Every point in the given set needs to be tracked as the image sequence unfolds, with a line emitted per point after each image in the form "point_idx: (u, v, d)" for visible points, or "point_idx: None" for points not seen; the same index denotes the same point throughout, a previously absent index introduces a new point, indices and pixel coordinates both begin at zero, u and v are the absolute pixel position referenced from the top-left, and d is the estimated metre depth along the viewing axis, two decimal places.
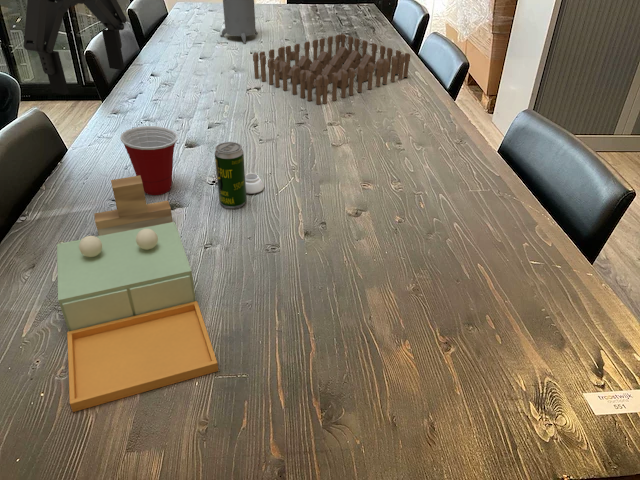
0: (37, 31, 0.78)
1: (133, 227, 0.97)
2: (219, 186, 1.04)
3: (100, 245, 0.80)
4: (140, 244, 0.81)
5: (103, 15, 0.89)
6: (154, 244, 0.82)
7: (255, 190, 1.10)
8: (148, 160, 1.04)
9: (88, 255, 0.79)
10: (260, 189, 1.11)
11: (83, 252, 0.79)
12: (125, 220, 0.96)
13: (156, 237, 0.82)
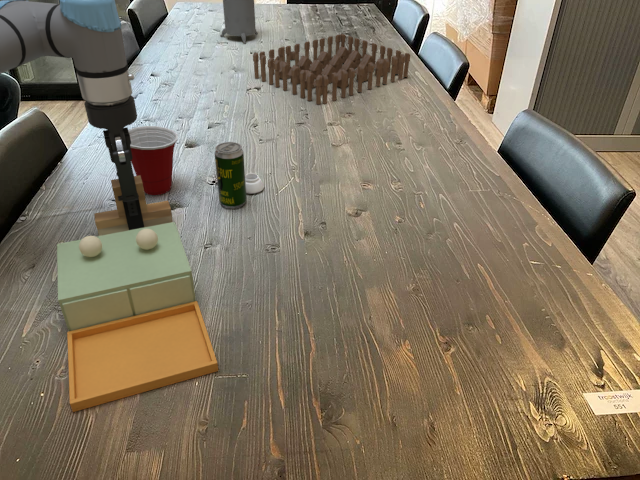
0: (135, 187, 0.89)
1: None
2: (219, 186, 1.04)
3: (100, 245, 0.80)
4: (140, 244, 0.81)
5: None
6: (154, 244, 0.82)
7: (255, 190, 1.10)
8: (148, 160, 1.04)
9: (88, 255, 0.79)
10: (260, 189, 1.11)
11: (83, 252, 0.79)
12: (125, 220, 0.96)
13: (156, 237, 0.82)
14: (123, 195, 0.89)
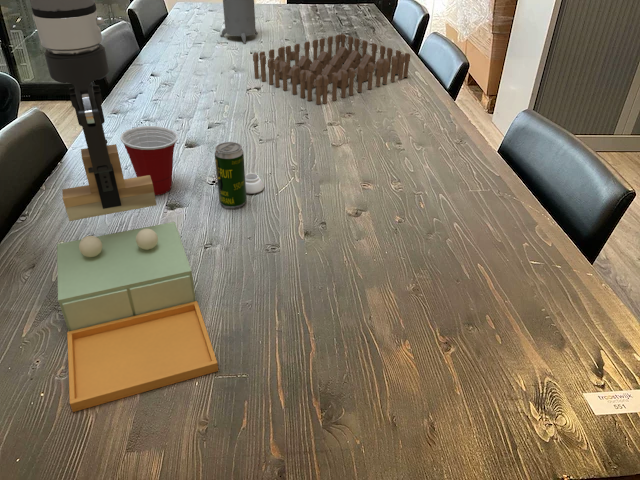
0: (108, 155, 0.75)
1: None
2: (219, 186, 1.04)
3: (100, 245, 0.80)
4: (140, 244, 0.81)
5: None
6: (154, 244, 0.82)
7: (255, 190, 1.10)
8: (148, 160, 1.04)
9: (88, 255, 0.79)
10: (260, 189, 1.11)
11: (83, 252, 0.79)
12: (99, 197, 0.82)
13: (156, 237, 0.82)
14: (93, 165, 0.75)
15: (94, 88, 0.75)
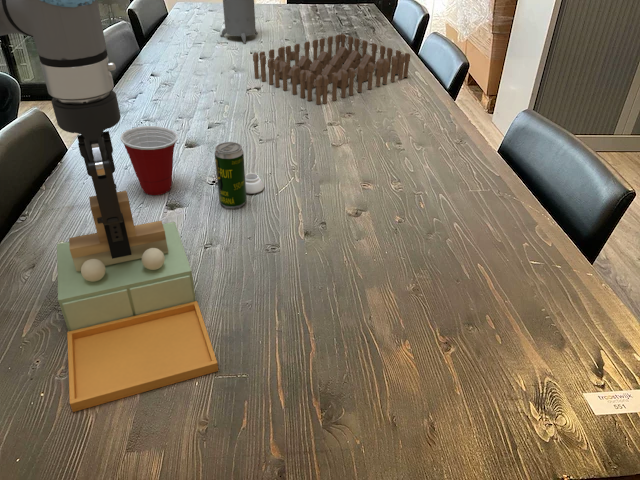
0: (118, 207, 0.70)
1: None
2: (219, 186, 1.04)
3: None
4: None
5: None
6: None
7: (255, 190, 1.10)
8: (148, 160, 1.04)
9: (87, 260, 0.75)
10: (260, 189, 1.11)
11: None
12: (108, 246, 0.77)
13: None
14: (103, 217, 0.70)
15: (104, 135, 0.71)
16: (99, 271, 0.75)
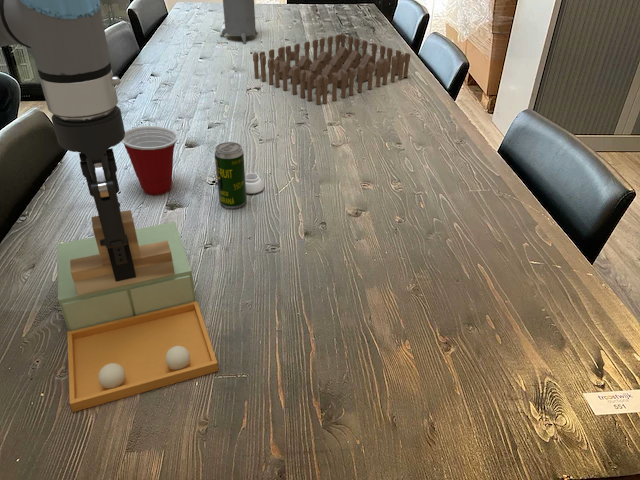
0: (123, 229, 0.66)
1: None
2: (219, 186, 1.04)
3: (124, 378, 0.69)
4: (171, 368, 0.70)
5: None
6: None
7: (255, 190, 1.10)
8: (148, 160, 1.04)
9: None
10: (260, 189, 1.11)
11: None
12: (111, 269, 0.73)
13: (189, 358, 0.71)
14: (107, 240, 0.66)
15: (107, 152, 0.67)
16: None
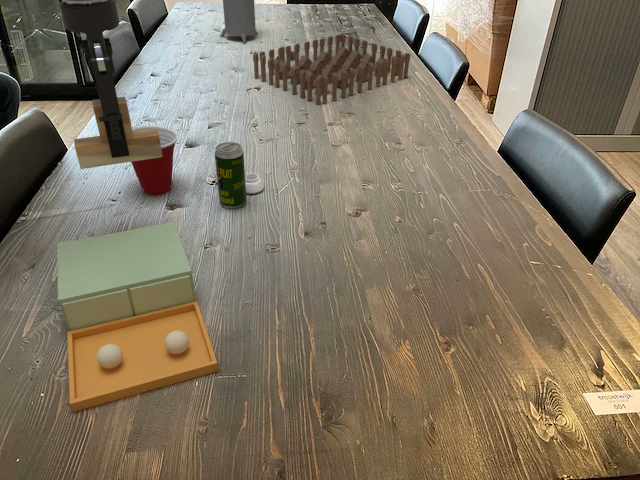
0: (117, 103, 0.80)
1: None
2: (219, 186, 1.04)
3: (119, 349, 0.71)
4: (168, 337, 0.73)
5: None
6: (183, 337, 0.73)
7: (255, 190, 1.10)
8: (148, 160, 1.04)
9: (104, 356, 0.70)
10: (260, 189, 1.11)
11: (99, 354, 0.70)
12: (108, 146, 0.87)
13: (187, 336, 0.74)
14: (104, 112, 0.80)
15: (105, 40, 0.80)
16: (118, 364, 0.72)
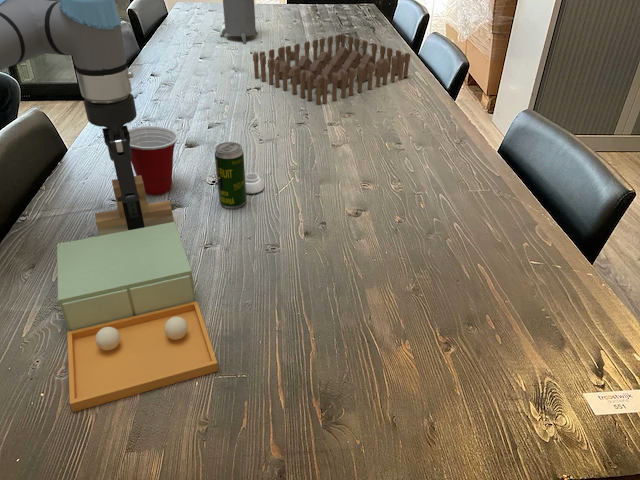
0: (135, 183, 0.85)
1: None
2: (219, 186, 1.04)
3: None
4: None
5: None
6: None
7: (255, 190, 1.10)
8: (148, 160, 1.04)
9: None
10: (260, 189, 1.11)
11: None
12: None
13: None
14: (122, 193, 0.84)
15: (123, 130, 0.90)
16: (112, 331, 0.73)
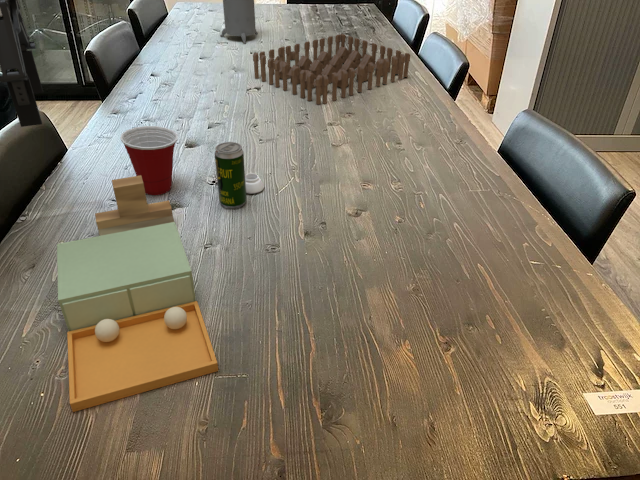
0: (18, 56, 0.70)
1: (133, 227, 0.97)
2: (219, 186, 1.04)
3: None
4: None
5: (21, 34, 0.81)
6: None
7: (255, 190, 1.10)
8: (148, 160, 1.04)
9: None
10: (260, 189, 1.11)
11: None
12: (126, 220, 0.96)
13: (186, 320, 0.78)
14: (2, 67, 0.69)
15: None
16: (111, 319, 0.76)
